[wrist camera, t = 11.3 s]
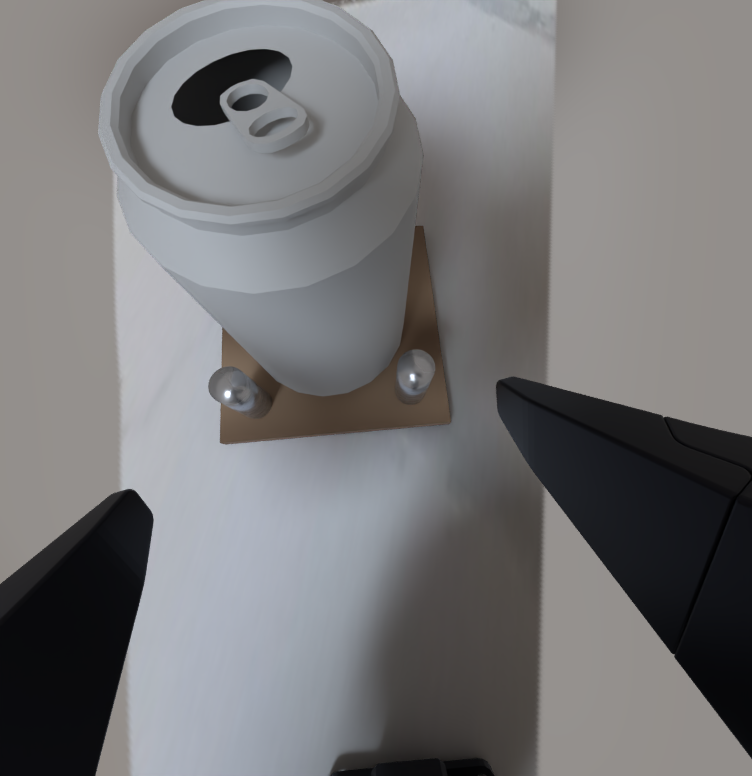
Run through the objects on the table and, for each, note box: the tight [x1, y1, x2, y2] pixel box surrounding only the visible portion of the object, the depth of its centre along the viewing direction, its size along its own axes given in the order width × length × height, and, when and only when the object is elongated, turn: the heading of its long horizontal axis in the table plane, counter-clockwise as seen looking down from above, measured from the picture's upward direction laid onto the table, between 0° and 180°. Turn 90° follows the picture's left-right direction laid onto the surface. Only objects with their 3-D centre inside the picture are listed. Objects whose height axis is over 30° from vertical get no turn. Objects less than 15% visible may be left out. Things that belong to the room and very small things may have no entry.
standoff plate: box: [208, 226, 451, 444], centre depth 18 cm, size 11×11×4 cm
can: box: [98, 0, 423, 397], centre depth 13 cm, size 8×8×12 cm
